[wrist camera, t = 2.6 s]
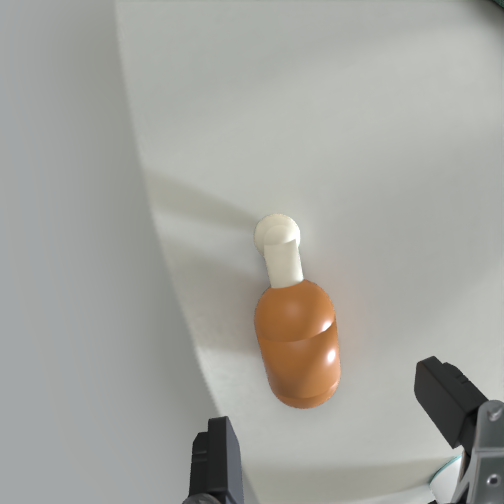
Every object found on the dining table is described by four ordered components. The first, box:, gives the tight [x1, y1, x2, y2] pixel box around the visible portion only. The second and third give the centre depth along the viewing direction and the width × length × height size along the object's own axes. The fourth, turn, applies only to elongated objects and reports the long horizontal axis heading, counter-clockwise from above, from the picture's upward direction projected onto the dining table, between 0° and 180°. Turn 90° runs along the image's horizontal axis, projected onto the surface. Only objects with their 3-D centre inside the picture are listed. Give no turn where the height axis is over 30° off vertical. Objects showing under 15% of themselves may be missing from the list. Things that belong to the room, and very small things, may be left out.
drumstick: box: [254, 214, 340, 409], centre depth 15 cm, size 11×4×4 cm, turn 12°
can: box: [430, 455, 462, 504], centre depth 20 cm, size 7×7×12 cm
